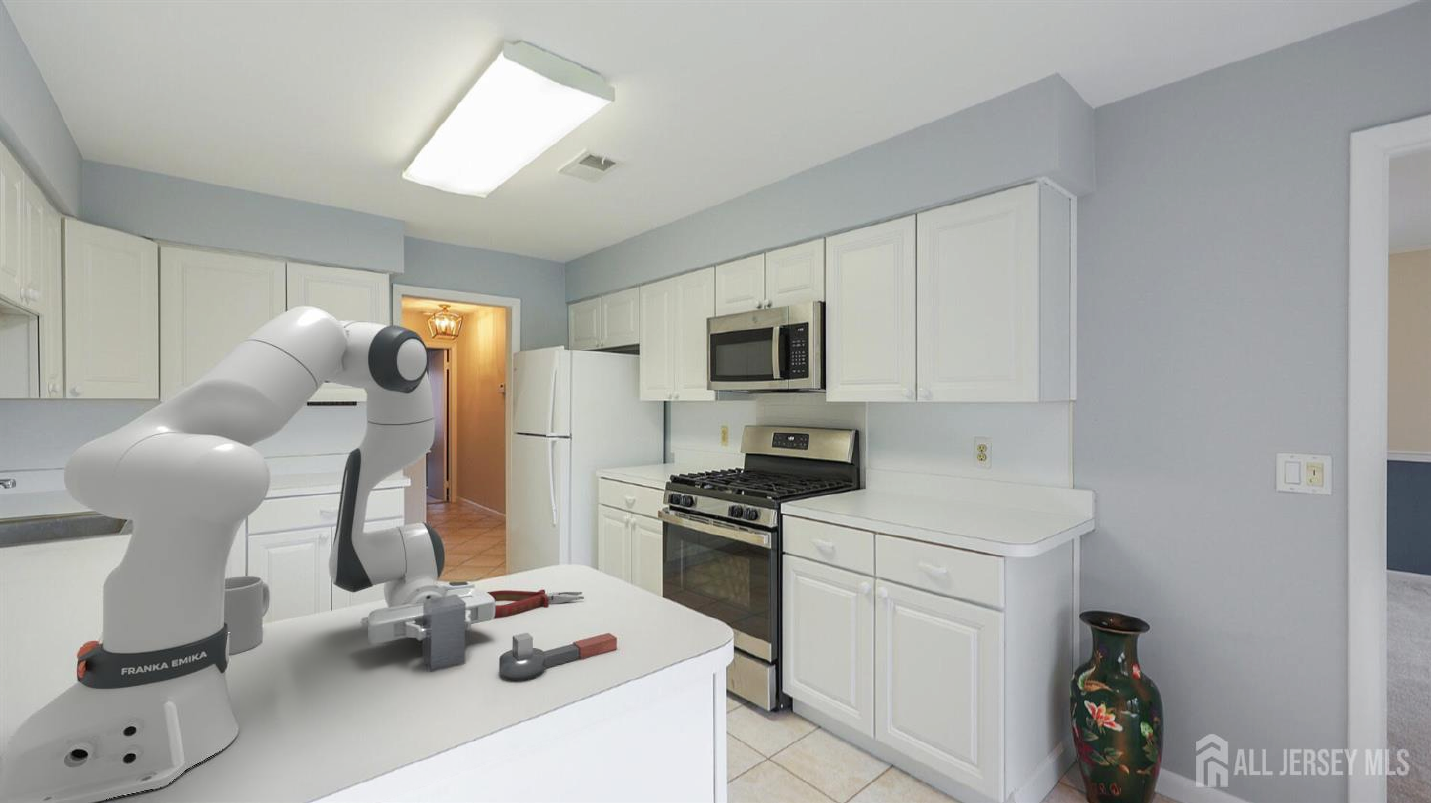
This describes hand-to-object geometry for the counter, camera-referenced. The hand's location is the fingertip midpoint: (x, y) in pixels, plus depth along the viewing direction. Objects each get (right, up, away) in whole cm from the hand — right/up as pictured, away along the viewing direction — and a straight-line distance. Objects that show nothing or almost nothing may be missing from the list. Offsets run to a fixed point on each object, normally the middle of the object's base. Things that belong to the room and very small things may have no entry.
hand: (445, 630), depth 100 cm
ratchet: (+18, -6, +2) cm, 19 cm away
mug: (-39, -5, +7) cm, 40 cm away
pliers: (+5, -6, +27) cm, 28 cm away
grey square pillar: (-1, -5, +1) cm, 6 cm away
